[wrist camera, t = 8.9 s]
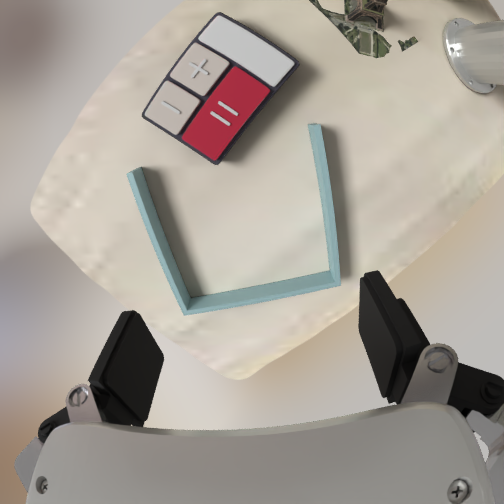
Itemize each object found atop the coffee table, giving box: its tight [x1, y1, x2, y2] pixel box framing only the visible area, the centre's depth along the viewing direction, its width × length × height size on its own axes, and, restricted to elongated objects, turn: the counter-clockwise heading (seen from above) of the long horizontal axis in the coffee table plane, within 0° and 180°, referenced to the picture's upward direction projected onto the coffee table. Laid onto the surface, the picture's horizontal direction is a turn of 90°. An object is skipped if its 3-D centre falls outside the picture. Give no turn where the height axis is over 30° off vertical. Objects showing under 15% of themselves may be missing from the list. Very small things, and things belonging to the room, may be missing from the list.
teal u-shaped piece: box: [127, 123, 341, 315], centre depth 34 cm, size 23×21×3 cm
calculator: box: [142, 12, 299, 165], centre depth 26 cm, size 11×4×15 cm
